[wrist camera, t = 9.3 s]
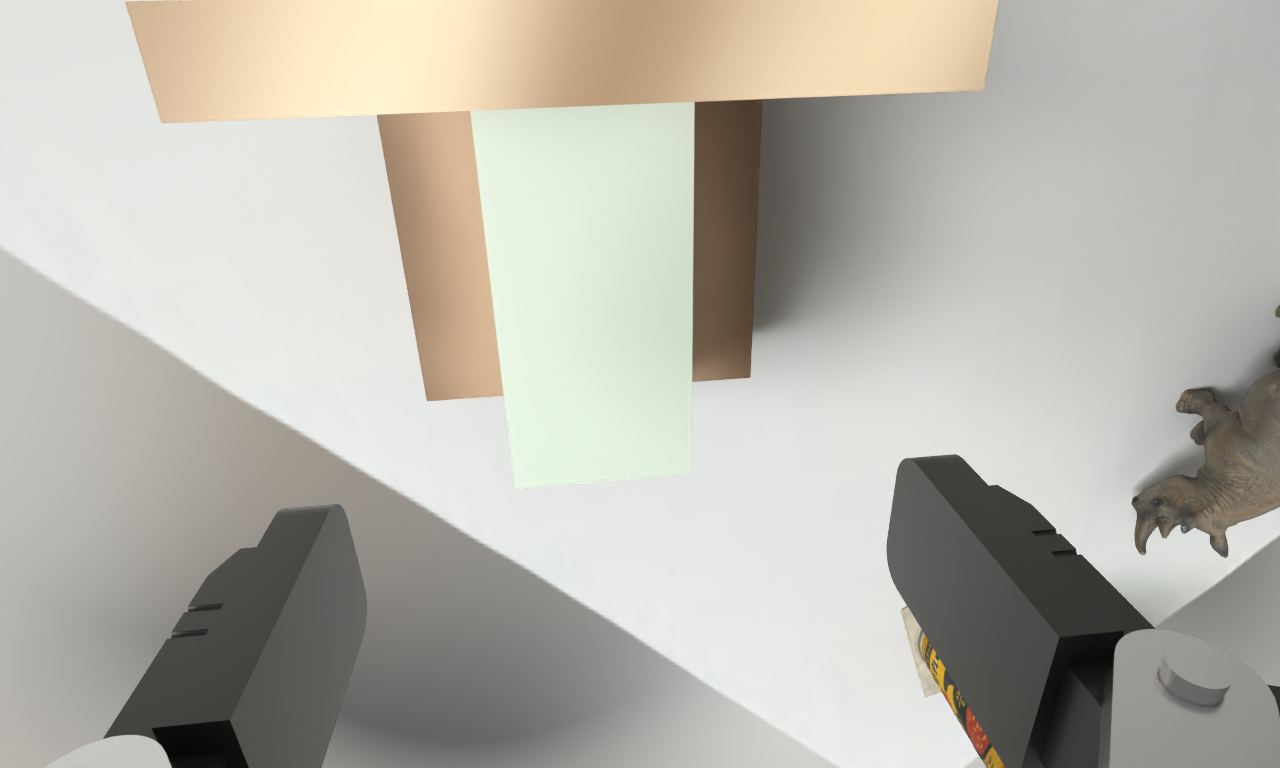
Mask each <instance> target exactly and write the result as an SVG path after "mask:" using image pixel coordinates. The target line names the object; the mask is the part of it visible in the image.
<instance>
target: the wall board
mask: <svg viewBox="0 0 1280 768" xmlns="http://www.w3.org/2000/svg"><path fill="white" fill-rule="evenodd" d="M998 2H999V0H174V1H136V2H125V3H126V6H127V9H128V13H129V16H130V19H131V23H132V26H133V29H134V33H135V36H136V39H137V43H138V46H139V50H140V53H141V56H142V60H143V63H144V66H145V70H146V73H147V76H148V80H149V83H150V86H151V90H152V93H153V96H154V100H155V103H156V106H157V110H158V113H159V117H160V120H161V123H181V122H206V121H231V120H256V119H280V118H305V117H330V116H355V115H380V114H405V113H430V112H454V111H479V110H504V109H529V108H554V107H579V106H603V105H628V104H653V103H678V102H703V101H728V100H752V99H777V98H802V97H827V96H852V95H877V94H901V93H926V92H951V91H976V90H984V86H985V80H986V74H987V68H988V62H989V56H990V50H991V44H992V38H993V32H994V26H995V20H996V14H997V8H998Z"/></svg>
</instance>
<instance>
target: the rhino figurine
mask: <svg viewBox="0 0 1280 768" xmlns="http://www.w3.org/2000/svg"><path fill="white" fill-rule="evenodd" d="M1276 316H1277V317H1279V318H1280V306H1279V307H1278V308H1277V310H1276ZM1274 358H1275V360H1276V361H1277V363H1276V365H1277V366H1278V367H1279V368H1280V350H1279V351H1278V352H1277V353H1276V354H1275V356H1274ZM1176 409H1177V411H1178V412H1181V413H1189V414H1199V415H1201V416H1203V418H1204V421H1202V422H1200V423H1199V424H1198V425H1197V426H1196V427H1195V428H1194V429H1193V430H1192V431H1191V434H1190V437H1191V438H1192V439H1194V440H1195V443H1196V444H1197V445H1204V447H1205V454H1206V463H1205V465H1204V466H1203V467H1201V468H1200V469H1199V470H1198V471H1197V477H1196V478H1191V477H1187V476H1184V475H1174V476H1171V477H1168V478H1166V479H1165V480H1163V481H1162V482H1160V483H1158V484H1156V485H1154V486H1152V487H1150V488H1148V489H1146V490H1144V491H1143V492H1141V493H1140V494H1138V496H1135V497H1133V500H1132V505H1133V507H1134V508H1135V510H1136V511H1137V521H1136V527H1135V545H1136V548H1137V550H1138V552H1139V553H1140V554H1141V555H1145V554H1146V542H1147V539H1148V537H1149V536H1150V534H1151V533H1152V532H1153V530H1154V529H1155V528H1156V527H1159V530H1160V533H1161V535H1162V537H1163V538H1167V536H1168V535H1169V533H1170V532H1171V530H1172V529H1173V528H1174V527H1175V526H1177V525H1181V531H1182V533H1186V532H1188V531H1190V530H1191V529H1193V528H1194V527H1195V528H1197V529H1199V530H1201V531H1203V532H1205V533H1207V534H1210V544H1211V546H1212V548H1213V549H1214V550H1215V551H1216V552H1218V553H1219V554H1220V555H1221V556H1222V557H1224V558H1226V557H1228V544H1227V539H1226V536H1225V531H1226V529H1227V528H1228V527H1229V526H1234V525H1236V524H1237V523H1238V522H1242V521H1245V520H1249V519H1252V518H1255V517H1258V516H1260V515H1263V514H1265V513H1267V512H1269V511H1272V510H1274V509H1276V508H1278V507H1280V369H1279V370H1277V371H1275V372H1272V373H1270V374H1268V375H1266V376H1264V377H1263V378H1261V379H1259V380H1258V381H1257V382H1256V383H1254V385H1253V386H1252V387H1251V388H1250V389H1249V391H1248V392H1247V394H1246V396H1245V398H1244V400H1243V403H1242V405H1241V407H1240V408H1239V409H1238V410H1237V411H1235V412H1232V411H1230V410H1229V409H1228V407H1227V406H1225V405H1223V404H1220V403H1218V402H1217V401H1216V400H1215V397H1214V394H1213V393H1212V392H1211V391H1207V390H1187V391H1185V392H1184V393H1183V394H1182V395H1181V399H1180V400H1179V402H1178V403H1177V405H1176Z"/></svg>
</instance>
